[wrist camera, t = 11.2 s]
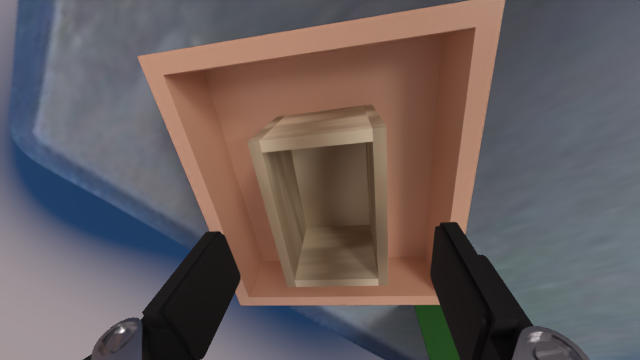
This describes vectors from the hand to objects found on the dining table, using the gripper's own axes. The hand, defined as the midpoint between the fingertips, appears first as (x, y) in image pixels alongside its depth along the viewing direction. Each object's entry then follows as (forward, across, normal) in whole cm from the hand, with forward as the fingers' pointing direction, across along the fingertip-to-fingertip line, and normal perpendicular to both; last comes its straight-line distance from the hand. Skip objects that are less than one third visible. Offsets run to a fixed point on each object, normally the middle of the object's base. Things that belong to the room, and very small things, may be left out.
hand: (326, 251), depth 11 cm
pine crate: (+9, 0, 0) cm, 9 cm away
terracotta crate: (+10, 0, +1) cm, 10 cm away
